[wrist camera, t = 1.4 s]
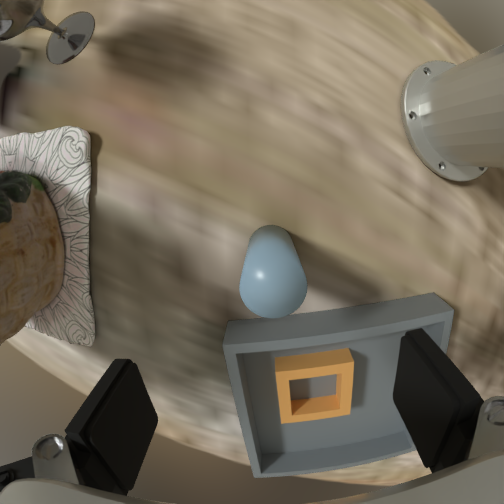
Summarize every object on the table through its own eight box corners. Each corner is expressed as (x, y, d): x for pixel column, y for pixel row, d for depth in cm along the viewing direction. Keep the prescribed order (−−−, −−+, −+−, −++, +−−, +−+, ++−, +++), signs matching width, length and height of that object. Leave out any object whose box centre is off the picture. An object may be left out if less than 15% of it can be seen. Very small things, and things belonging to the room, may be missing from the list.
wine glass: (79, 69, 23) (-20, 30, 9) (34, 66, 23) (-55, 41, 8) (108, 8, 21) (32, -55, 7) (61, 10, 21) (-15, -33, 6)
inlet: (348, 347, 29) (354, 361, 26) (345, 399, 31) (350, 414, 28) (274, 357, 29) (275, 372, 27) (280, 408, 31) (281, 423, 29)
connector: (290, 222, 27) (304, 251, 17) (294, 265, 28) (309, 314, 18) (245, 227, 27) (234, 259, 17) (251, 270, 28) (244, 321, 18)
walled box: (433, 292, 28) (454, 309, 24) (406, 428, 33) (416, 449, 29) (228, 320, 29) (222, 344, 25) (255, 453, 35) (254, 477, 31)
